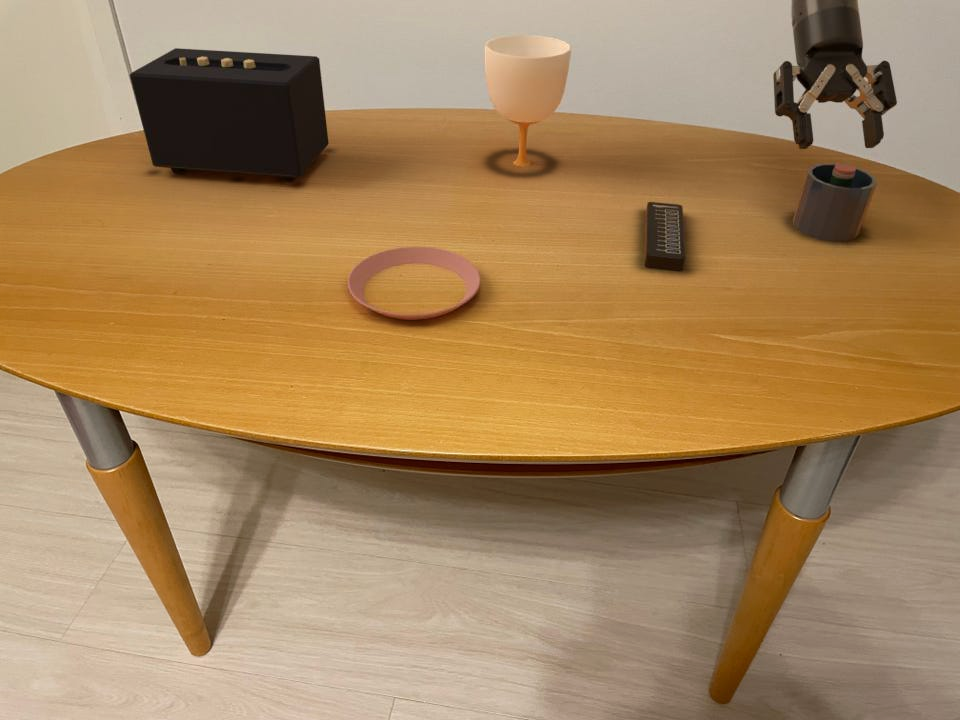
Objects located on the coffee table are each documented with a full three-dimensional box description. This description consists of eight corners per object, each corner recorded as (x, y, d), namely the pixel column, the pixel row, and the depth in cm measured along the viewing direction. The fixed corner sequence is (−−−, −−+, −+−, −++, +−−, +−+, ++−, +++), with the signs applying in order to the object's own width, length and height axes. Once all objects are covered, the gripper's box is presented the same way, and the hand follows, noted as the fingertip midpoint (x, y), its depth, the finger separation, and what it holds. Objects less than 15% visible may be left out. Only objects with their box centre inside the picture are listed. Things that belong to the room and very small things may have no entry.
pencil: (835, 224, 95) (855, 164, 90) (836, 233, 93) (857, 172, 88) (815, 221, 96) (834, 162, 91) (815, 229, 94) (834, 169, 89)
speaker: (330, 153, 113) (319, 50, 103) (302, 188, 102) (286, 77, 93) (195, 144, 115) (173, 41, 106) (154, 177, 105) (125, 67, 96)
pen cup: (854, 223, 97) (874, 168, 92) (858, 250, 91) (879, 193, 86) (791, 213, 99) (807, 159, 94) (791, 239, 93) (808, 183, 88)
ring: (492, 323, 77) (493, 307, 76) (353, 337, 74) (352, 321, 73) (467, 256, 88) (467, 241, 87) (345, 267, 86) (343, 251, 84)
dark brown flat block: (643, 272, 86) (646, 254, 84) (644, 217, 97) (647, 200, 96) (682, 276, 85) (685, 258, 84) (679, 220, 96) (682, 204, 95)
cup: (550, 188, 104) (561, 61, 94) (471, 176, 107) (472, 52, 96) (569, 157, 113) (580, 39, 103) (495, 147, 116) (498, 31, 105)
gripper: (785, 3, 88) (799, 133, 86) (898, 3, 89) (915, 132, 87) (756, 39, 95) (769, 159, 93) (862, 38, 97) (877, 157, 94)
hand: (840, 146), depth 90 cm, fingers open, 8 cm apart
